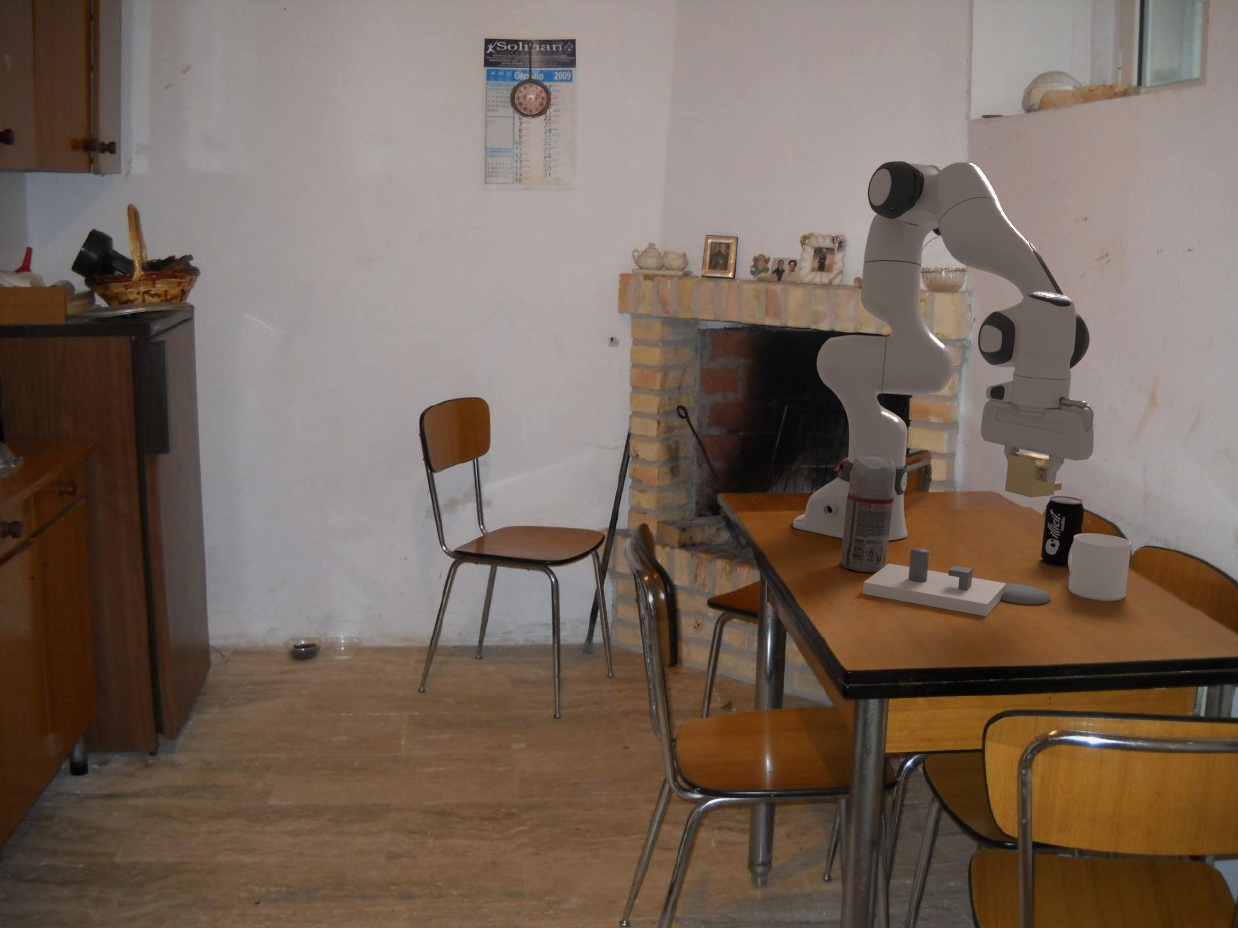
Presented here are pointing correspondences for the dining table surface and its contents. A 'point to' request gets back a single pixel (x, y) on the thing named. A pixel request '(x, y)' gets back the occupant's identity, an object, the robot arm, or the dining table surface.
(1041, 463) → the tan wooden block
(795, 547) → the dining table surface
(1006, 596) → the slate coaster
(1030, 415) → the robot arm
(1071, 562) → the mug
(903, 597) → the base
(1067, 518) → the beverage can
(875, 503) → the spray can
